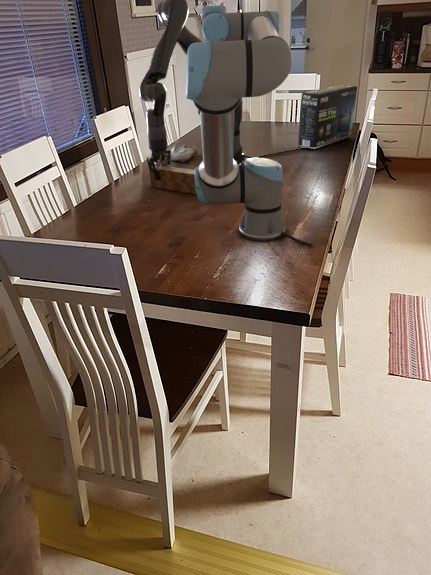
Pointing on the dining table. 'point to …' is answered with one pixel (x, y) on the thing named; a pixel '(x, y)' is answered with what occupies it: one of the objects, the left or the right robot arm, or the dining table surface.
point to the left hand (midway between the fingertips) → (161, 178)
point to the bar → (175, 179)
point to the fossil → (182, 152)
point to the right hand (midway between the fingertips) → (217, 131)
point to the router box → (326, 115)
